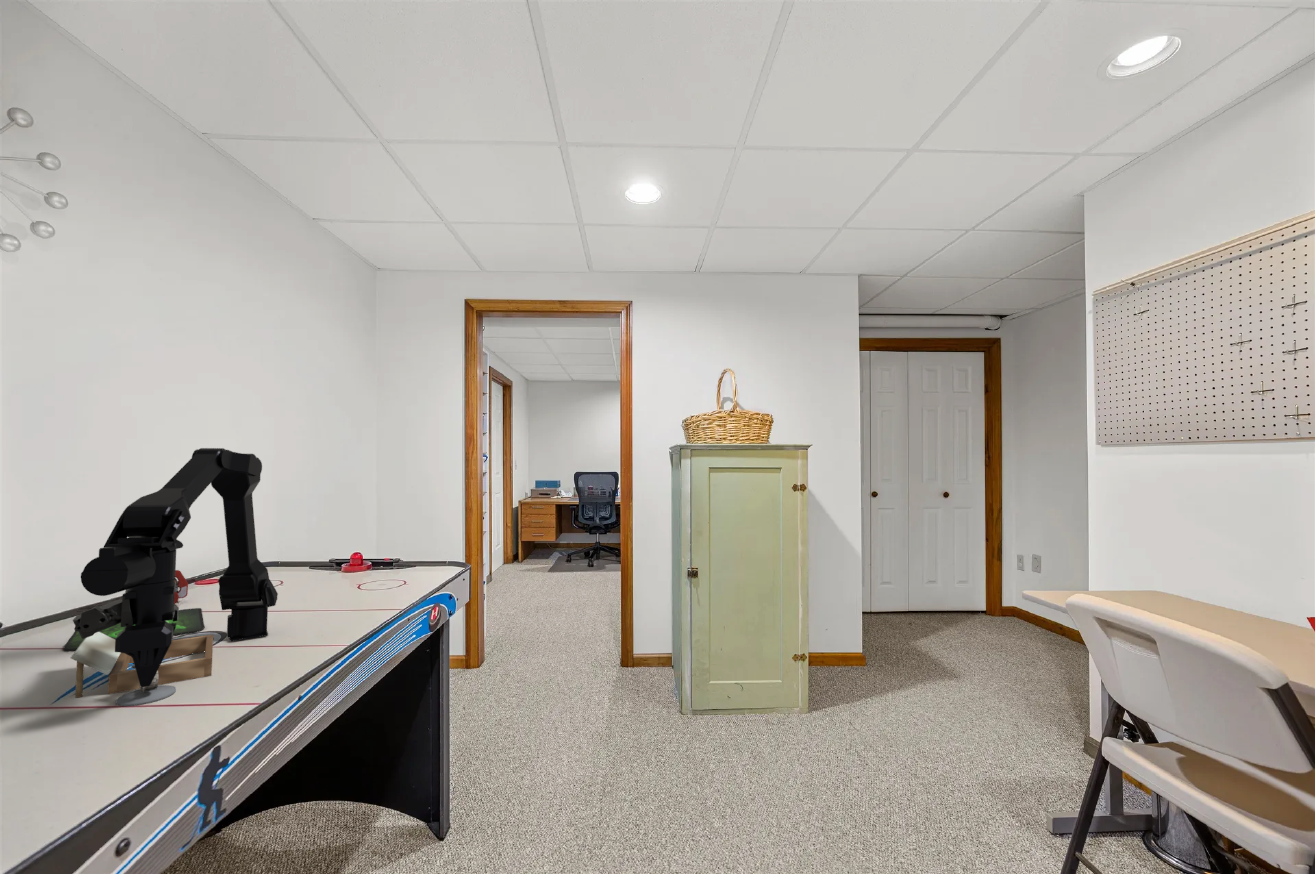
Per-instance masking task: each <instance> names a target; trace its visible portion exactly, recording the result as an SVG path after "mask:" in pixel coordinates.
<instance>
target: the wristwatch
mask: <svg viewBox="0 0 1315 874" xmlns="http://www.w3.org/2000/svg"><path fill="white" fill-rule="evenodd" d="M131 668H132V669H136V668H135V665H134V664H132V665H131ZM158 680H159V675H158V671H157V673H156V675H155V677H154V679H153V681H152V683H151V685H150V686H146V687H141V686H140V683H139V687H140V690H141V692H147V691H151V690H155V689H157V687H158V686H159V685H158Z"/></svg>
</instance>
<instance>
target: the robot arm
mask: <svg viewBox="0 0 1315 874" xmlns="http://www.w3.org/2000/svg"><path fill="white" fill-rule="evenodd" d="M262 471H263V463H262V460H261V459H260V458H259V457H257V456H256V455H255V453H241V452H236V451H232V450H230V449H225V448H223V447H222V448H220V447H219V448H218V447H217V448H216V447H213V448H212V447H211V448H210V447H201V448H199V449H197V448H196V449H195V450H194V451H193V453H192V455H191V458H190V459H189V460H188V461H187V462H186V463H185V464H184V465H183V466H182V467H181V468H180V469H179V470H178V471H177V473H175V474H174V475H173V476H172V477H171V478H170V479H169V480H168V481H167V483H165V485H163V486H162V488H160V489H158V490H157V491H154V492H152V493H149V494H146V495H143V496H140V497H139V498H138V499H136V500H134V501H133V502H132V503H131V504H129V505H128V506H126V507H125V508H124V510H123V511H122V513H121V515H119V518H118V519H117V522H116V524H115V525H114V527H113V528H112V531H111V532H110V534H109V536H108V537H107V540H106V541H105V544H103V547H101V548H99V549H98V556H97V557H95V558H93V559H91V560H90V561H89V562H87V564H86V565H85V566H84V568H83V570H82V572H81V573H80V582H81V584H82V587H83V589H85V590H86V591H87V592H88V593H90V594H92V595H95V596H100V597H106V596H111V595H113V594H117V593H121V592H123V591H125V592H124V593H122V596H121V598H119V599H117V600H114V601H110V602H108V603H105V604H103V605H100V606H98V605H95V606H94V607H92V608H90V609H84V610H83V611H82V612H81V613H79V614H77V615H76V616H75V617H74V618H73V619H72V622H73V624H74V632H75V631H77V632H79V634H80V636H81V638H82V639H84V638H87V637H90V636H93V635H94V633H97V632H99V631H102V630H104V629H107V628H109V627H112V626H114V625H117V624H119V623H121V627H126V628H125V629H124V630H122V631H121V632H120V633H119V634H118V636H117V637H116V639H115V652H121V653H125V654H127V655H129V656H131V657H132V658H133V661H134V664H133V665H135V668H136V672H137V675H138V679H139V683H140V686H141V687H146V686H150V685H151V683H152V681H153V679H154V677H155V675H156V673H157V671H158V669H159V667H160V665H162V663H163V661H164V660H165V659H164V657H165V655H166V653H167V651H168V649H169V647H170V645H171V643H172V640H173V639H174V636H173V632H174V630H175V628H176V625H177V623H171V624H169V623H168V622H166V621H168V620H173V621H177V620H178V612H179V610H180V607H179V606H178V605H176V604H174V597H175V589H176V587H177V583H176V582H175V578H176V577H175V571H176V570H177V569H176V566H177V564H176V563H177V550H178V549H182V548H183V547H184V543H183V542H182V541H180V540H178V539H177V538H178V537H179V536H180V535H181V534H182V533H183V531H184V530H185V529H186V528H187V525H188V523H189V522H190V520H191V518H192V517H191V511H190V508H191V506H192V505H193V504H194V503H195V502H196V500H197V499H198V498H199V497H200V495H201V494H203V492H204V491H206V489H207V488H208V487H209V486H210V485H211V487H212V489H214V490H215V492H216V493H217V494H218V495H219V496H220V497H221V499H222V502H223V514H224V525H225V537H226V546H227V547H226V548H227V557H228V558H227V559H228V566H227V568H226V569H225V571H224V572H223V574H222V575H220V577H218V585H219V586H218V587H219V588H218V595H219V600H220V606H221V611H226V610H231V612H230V614H228V615H227V620H226V621H227V623H226V625H227V626H226V637H227V638H229V642H238V641H244V640H251V639H255V638H263V637H267V636H269V631H268V616H269V615H268V612H269V608H270V607H275V606H276V605H277V601H278V595H279V593H278V591H277V590H276V587H275V586H274V584H273V583H272V580H271V579H270V575H269V571H268V568H267V567H266V566H265V565H264V563H262V562H261V560H260V559H259V558H258V549H257V548H258V547H257V539H256V538H257V536H256V527H255V526H256V525H255V515H254V503H253V502H254V501H253V493H254V491H255V490H256V488H257V486H258V485H259V483H260V482H261V474H262Z"/></svg>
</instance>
